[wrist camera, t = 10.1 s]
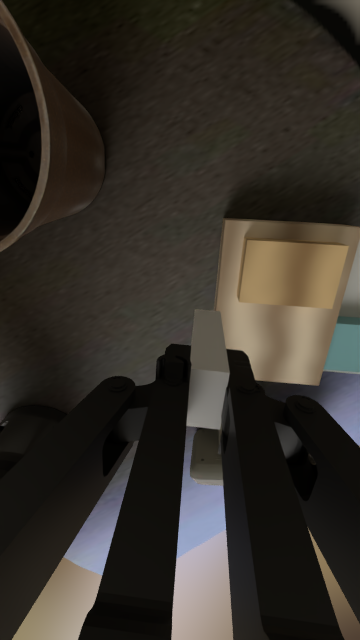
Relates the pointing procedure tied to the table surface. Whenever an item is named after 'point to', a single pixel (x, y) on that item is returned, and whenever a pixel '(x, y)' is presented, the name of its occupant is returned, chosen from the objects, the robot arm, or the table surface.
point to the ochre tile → (290, 272)
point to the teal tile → (345, 346)
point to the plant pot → (41, 141)
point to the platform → (278, 320)
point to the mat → (352, 295)
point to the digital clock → (207, 457)
